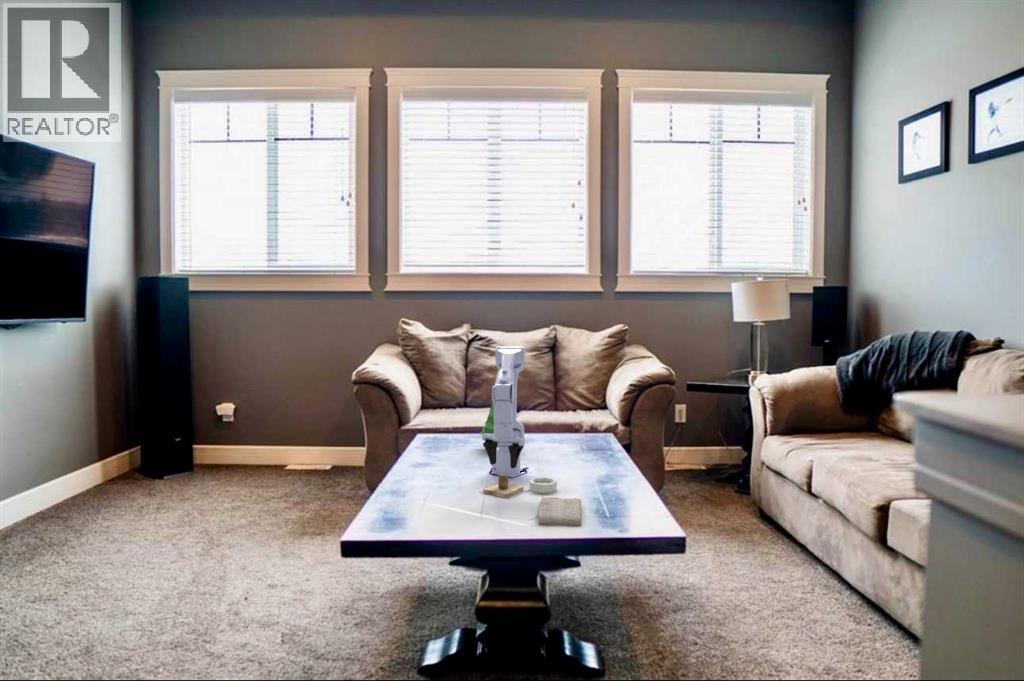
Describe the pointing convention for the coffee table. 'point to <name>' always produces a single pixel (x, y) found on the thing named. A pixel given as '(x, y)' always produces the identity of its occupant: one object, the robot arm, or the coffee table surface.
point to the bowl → (543, 484)
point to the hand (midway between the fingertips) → (503, 465)
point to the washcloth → (560, 511)
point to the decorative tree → (490, 422)
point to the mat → (510, 496)
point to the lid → (503, 487)
